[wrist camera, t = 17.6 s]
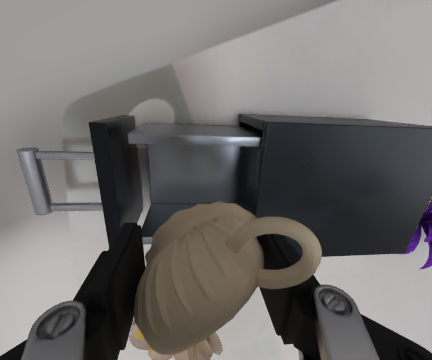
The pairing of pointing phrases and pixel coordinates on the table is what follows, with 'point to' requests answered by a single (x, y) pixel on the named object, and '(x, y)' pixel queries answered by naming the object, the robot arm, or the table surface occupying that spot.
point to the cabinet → (344, 180)
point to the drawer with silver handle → (155, 170)
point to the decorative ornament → (211, 272)
